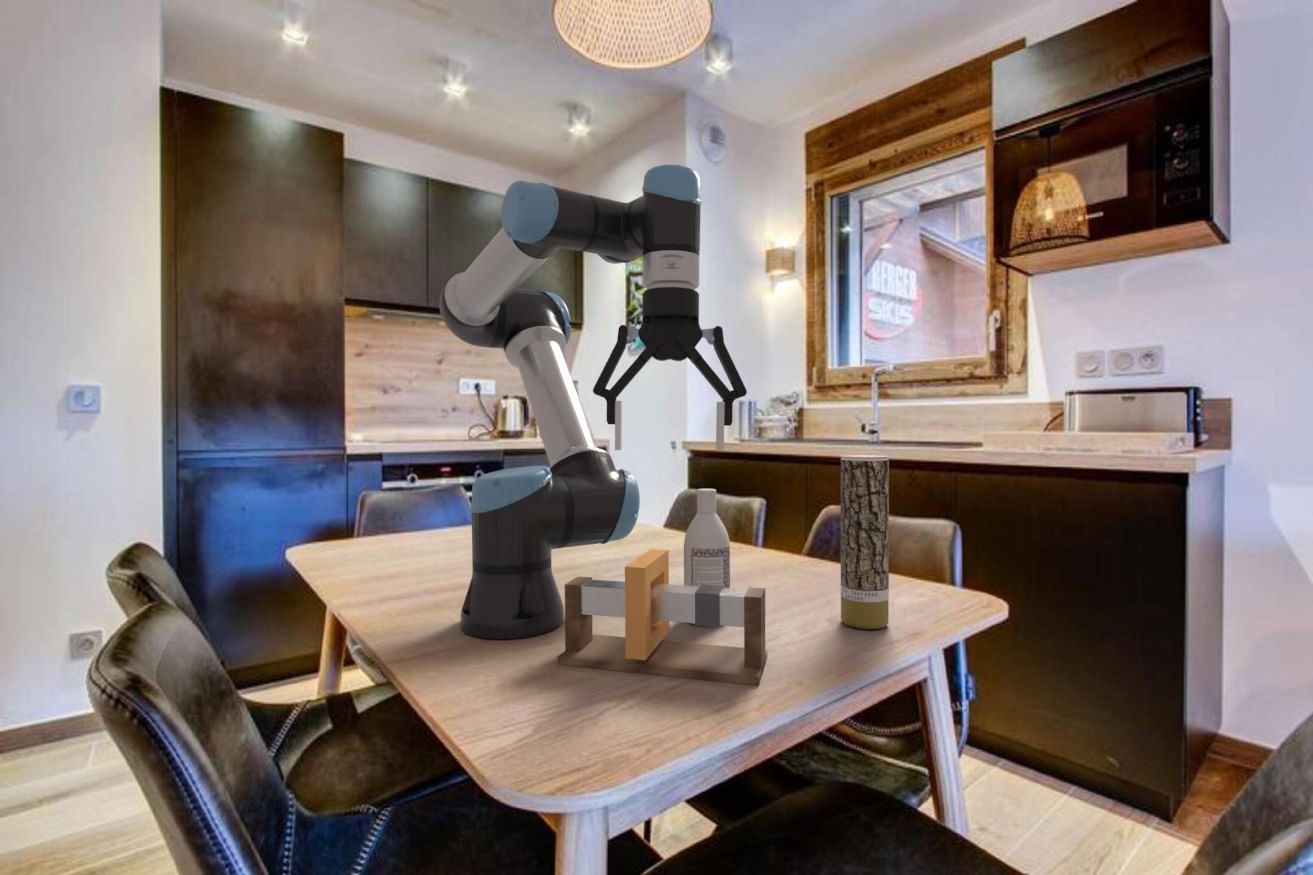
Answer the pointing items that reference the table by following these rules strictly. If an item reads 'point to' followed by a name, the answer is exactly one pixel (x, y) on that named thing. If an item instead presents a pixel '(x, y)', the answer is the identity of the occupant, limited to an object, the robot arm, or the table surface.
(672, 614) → the rail
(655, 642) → the orange square ring
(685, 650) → the brown stand
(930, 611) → the table surface
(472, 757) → the table surface
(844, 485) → the paper tube
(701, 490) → the bath foam
